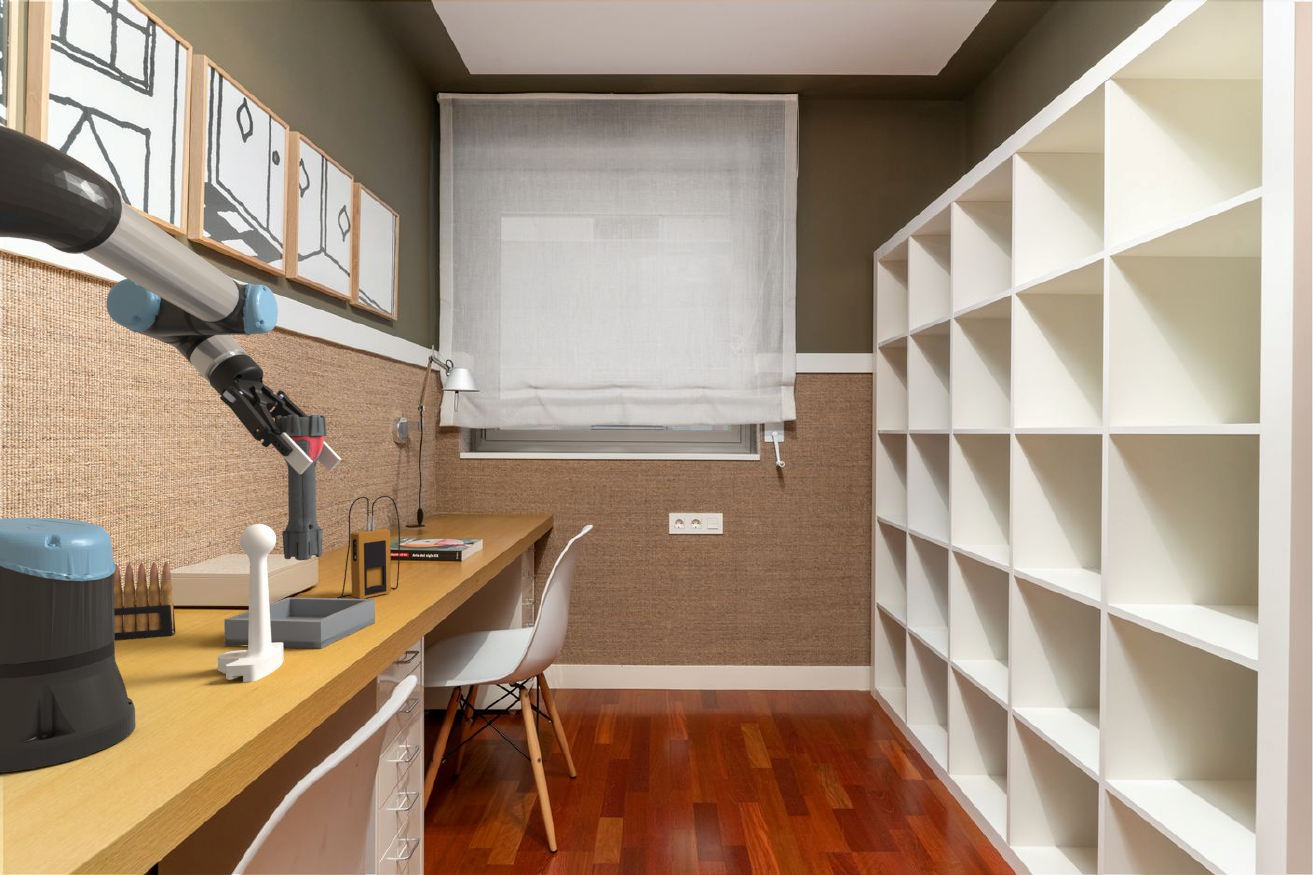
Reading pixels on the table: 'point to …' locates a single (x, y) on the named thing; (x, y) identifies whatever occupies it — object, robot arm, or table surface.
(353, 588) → the multimeter
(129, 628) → the ammunition clip
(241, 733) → the table surface
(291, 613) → the tray
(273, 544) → the joystick
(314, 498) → the flashlight
